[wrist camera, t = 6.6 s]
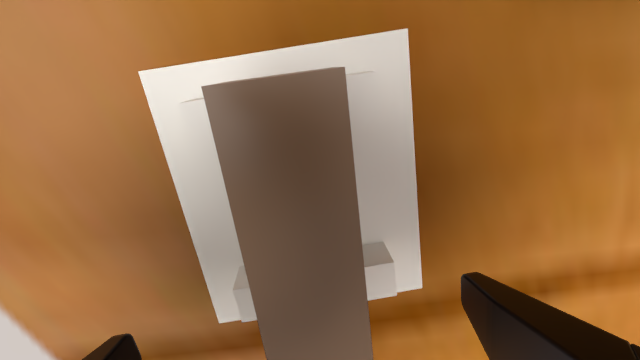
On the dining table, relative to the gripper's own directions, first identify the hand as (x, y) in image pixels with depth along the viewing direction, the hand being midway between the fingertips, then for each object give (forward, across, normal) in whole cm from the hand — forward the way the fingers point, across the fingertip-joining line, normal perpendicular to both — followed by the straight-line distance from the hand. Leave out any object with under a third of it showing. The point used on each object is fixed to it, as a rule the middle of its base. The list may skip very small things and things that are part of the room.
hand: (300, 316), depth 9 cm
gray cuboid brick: (+6, 0, 0) cm, 6 cm away
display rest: (+9, 0, 0) cm, 9 cm away
